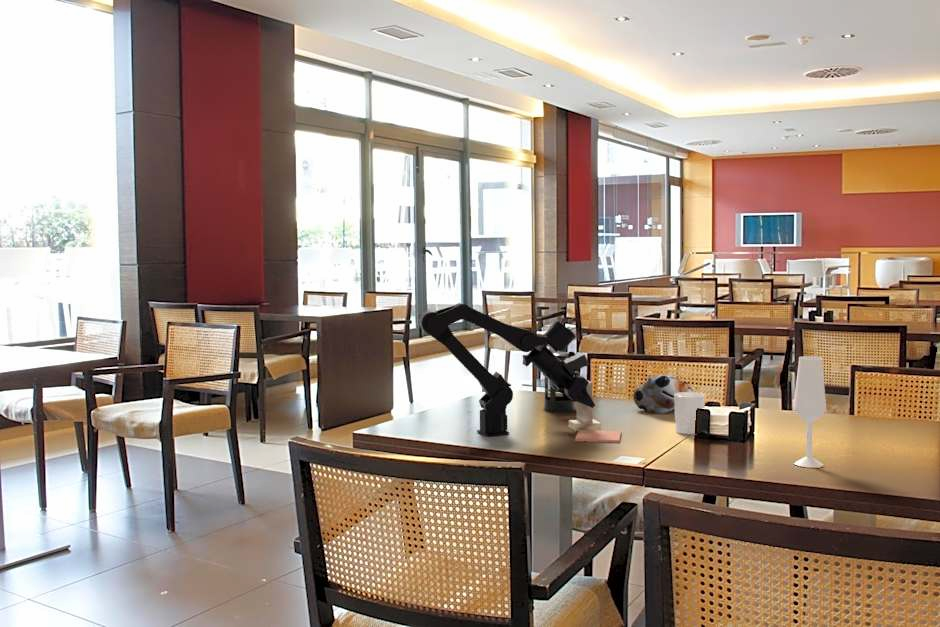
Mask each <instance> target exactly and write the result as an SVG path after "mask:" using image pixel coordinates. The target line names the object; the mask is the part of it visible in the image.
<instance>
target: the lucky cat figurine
mask: <svg viewBox="0 0 940 627" xmlns="http://www.w3.org/2000/svg"><path fill="white" fill-rule="evenodd" d="M647 379H648V380H646V381H645V383H644V384H643V385H640V386H638V387H637V388H636V389H635V390H634V393H633V395H632V396H633V397H632V399H633V402H634V403H635V405H636V406H637V407H638V409H640V410H643V411H644V412H645V413H646V414H650V415H665V414H666V413H669V412H672V411H673V410H675V407H674V394H675V393H679V392H694V391H693V390H694V389H693V387H691V386H689V384H688V382H687V381H681V379H679V378H678V377H677V376H675V375H671V374H660V375H659V374H658V375H655V376H654V375H650V376H649V377H648V378H647Z"/></svg>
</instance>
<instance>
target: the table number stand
mask: <svg viewBox="0 0 940 627" xmlns="http://www.w3.org/2000/svg"><path fill="white" fill-rule="evenodd" d="M586 380H587V381H588V382H589V384H588V385H587V392H588V394H589V395H590V397H591V399H592V400H593V382H592V381H590V380H589V379H586ZM593 408H594V407H593ZM593 408H591V407H589V406H586V405H584V404H582V403H579V402H576V419H568V428H569V429H570V428H571V429H570V430H572V431H573V430H574V431H573V432H575V433H577V432H576V431H579V430H599V431H602V430H601V428H602V427H601V422H599V421H598V420H596V419H594V417H593V414H594V413H593Z"/></svg>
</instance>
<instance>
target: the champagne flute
mask: <svg viewBox="0 0 940 627" xmlns="http://www.w3.org/2000/svg"><path fill="white" fill-rule="evenodd" d="M824 376H825V375H824V366H823V357H820V356H805V355H804V356H799V357H798V366H797V372H796V382H795V390H794V398H793V399H794V400H793V409H794V411H795V412H796V414H797V415H798V416H799V417H800V418H801V419H802V421H803V420H804V422H806V435H805V437H806V439H805V440H806V441H805V445H806V446H805V447H806V448H805V456H804V457H802V458H800V459H798V460H797V461H795V463H794V462H793V463H794V464H795V465H798V466H802V467H803V466H804V467H820V466H822V465H824V464H823V463H822V462H820V461H818V460H817V459H816V458H814V456H813V422H815V421H817V420H818V419H819V418H821V417H822V416H823V414H824V413H825V411H826V409H827V401H826V390H825V378H824Z"/></svg>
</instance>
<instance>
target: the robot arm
mask: <svg viewBox="0 0 940 627" xmlns="http://www.w3.org/2000/svg"><path fill="white" fill-rule="evenodd" d="M461 320H464V321H466V322H469V323H471V324H473V325H475V326H478V327H479V328H482V329H484V330H486V331H488V332H490V333H492V334H494V335H496V336H498V337H499V338H501V339H503V340H504V341H505V342H507V343H509V344H510V345H511V347H514V348H515V349H517V350H519V351H520V352H524V353H527V354H523V355H522V365H523V366H525V367H528V366H529V365H531V363H532V364H533V365H534V366H535V368H537V369H538V370H539V371H540V373H542V375H543V376H544V378H545V377H547V378H548V386H549V387H550V386H551V387H552V388H553V389H554V390H557V388H558V390H557V391H558V392H559V393H560V394H562V395H563V394H564V395H566V396H568V397H569V398H570V399H572V400H574V401H577V402H579V403H582V404H584V405H586V406H589V407H591V408H594V407H595V406H596V404H595V402H594V400H593V398H592V399H591V397H590V395H589V394H588V392H587V385H588V384H589V382H588V381H589V380H588V379H586V378H585V377H584V376H582V375H580V376H577V374H576V372H578V370H580V369H583V368H584V367H588V366H589V365H590V363H589V360H588V359H587V357H586V354H585V353H584V352H582V351H580V352H576V353H575V351H572V350H570V351H567V352H568V353H566V359H565V360H564V361H563V360H562V361H561V360H560V359H558V358H557V357H556V356H555V355H554V354H553V353H552V352H564V351H565V350H566V348H567V347H568V346H569V345H570V344H571V343H572V342H573V341H574V340H575V339H576V338H577V335H576V334H575V333H574V332H573V331H572V330H571V329H570V328H569V327H568V328H567V327H566V326H565V325H564V324H562V322H560V321H559V320H555V321H554V322H553V323H552V325H551V326H550V328H548V330H547V331H546V332H545V333H543V334H541V333H534V332H533V331H531V330H529V329H526V328H523V327H520V326H516V325H512V324H508V323H505V322H502V321H500V320H498V319H496V318H494V317H491V316H490V315H488V314H486V313H484V312H481V311H479V310H477V309H475V308H473V307H470V306H469V305H468V304H467V303H462V302H458V303H456V304H455V305H451V306H448V307H445V308H442V309H438V310H436V311H435V310H434V311H433V310H425V311H424V312H422V313H421V314H420V316H419V318H418V325H419V327H420V329H421V330H422V331H423V332H425V333H426V334H428V335H429V336H431V337H432V338H433V339H435V340H436V341H437V342H439V343H440V344H442V345H443V346H444V347H445V349H446V350H448V351H449V352H450V353H451V354H452V355H453V357H454V358H455V359H456V360H458V362H459V363H460V364H461V365H462V366H463V367H464V368H465V369H466V370H467V371H468V372H469V373H470V374H471V375H472V376H473V378H475V379H476V381H478V383H479V385H480V387H481V389H482V390H483V391H484V394H483V395H482V397H481V398H480V399H479V400H478V403H479V406H480V408H482V409H479V429H478V430H476V432H477V433H478V434H481V435H483V436H487V437H494V436H501V435H508V434H510V431H508V414H507V406H508V405H509V404H510V403H511V402H512V401H513V399H514V398H513V397H514V392H513V389H512V388H511V386H512V384H511V383H509V382H508V381H506V380H505V378H504V377H503V375H502V374H501V373H499V372H497V371H495V372H494V373H493V374H492V373H491V372H490V371H489V370H487V368H485V366H484V365H483V364H482V363H481V362H480V361H479V359H477V358H476V357H475V356H474V355H473V354H472V353H471V352H470V351H469V349H467V347H466V346H464V345H463V343H462V342H460V340H459V339H458V338H457V337H456V335H454V333H453V332H452V330H451V329H450V327H449V326H450V325H452V324H455V323H456V322H458V321H461ZM536 347H537V348H536ZM548 347H549V348H550V349H551V350H552V351H551V350H550V349H549V348H548ZM575 371H576V372H575ZM587 380H588V381H587ZM559 393H558V394H559ZM577 402H576V403H577Z"/></svg>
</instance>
